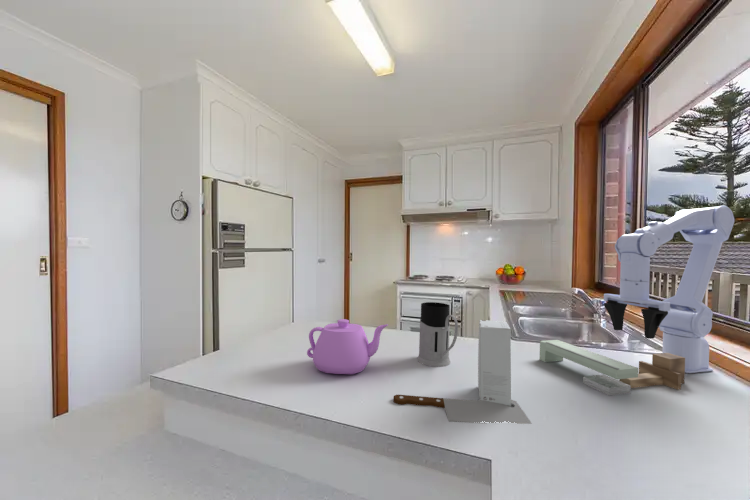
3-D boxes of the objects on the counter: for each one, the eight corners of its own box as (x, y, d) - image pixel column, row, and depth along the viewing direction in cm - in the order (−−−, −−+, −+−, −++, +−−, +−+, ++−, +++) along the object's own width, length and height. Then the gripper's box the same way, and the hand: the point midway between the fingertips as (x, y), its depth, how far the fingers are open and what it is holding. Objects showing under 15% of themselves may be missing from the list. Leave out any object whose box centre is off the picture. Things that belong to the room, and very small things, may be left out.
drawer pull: (557, 358, 87) (557, 338, 87) (637, 392, 66) (638, 366, 66) (539, 359, 85) (540, 339, 85) (616, 394, 65) (617, 368, 65)
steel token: (603, 383, 72) (603, 374, 72) (630, 395, 66) (630, 385, 66) (582, 385, 70) (583, 376, 70) (609, 397, 64) (609, 388, 64)
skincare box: (511, 408, 58) (513, 329, 58) (477, 402, 60) (479, 326, 60) (506, 389, 66) (508, 320, 66) (476, 385, 68) (478, 317, 68)
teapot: (297, 376, 69) (299, 324, 69) (314, 356, 83) (315, 312, 83) (385, 382, 68) (387, 329, 68) (388, 360, 81) (389, 316, 81)
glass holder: (438, 353, 88) (440, 301, 88) (470, 372, 74) (472, 311, 74) (411, 356, 85) (413, 302, 85) (439, 377, 71) (441, 312, 71)
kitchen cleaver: (391, 417, 53) (394, 388, 63) (391, 423, 53) (393, 393, 63) (540, 432, 50) (518, 399, 60) (539, 438, 50) (518, 404, 60)
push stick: (656, 373, 77) (656, 349, 77) (696, 387, 70) (697, 361, 70) (607, 378, 73) (608, 353, 73) (644, 394, 65) (645, 365, 65)
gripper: (595, 277, 84) (594, 327, 84) (654, 283, 70) (653, 343, 70) (615, 277, 86) (614, 326, 86) (677, 283, 72) (675, 341, 72)
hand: (633, 333), depth 78 cm, fingers open, 7 cm apart
